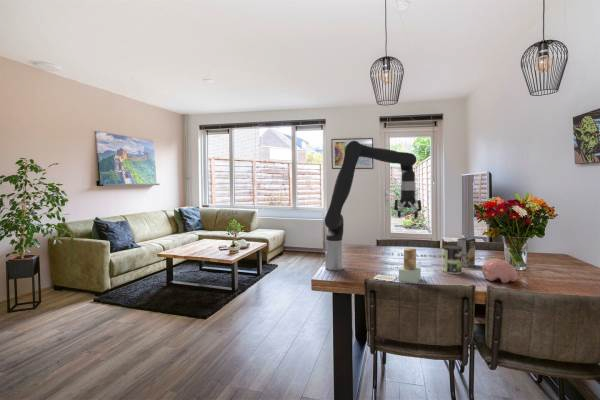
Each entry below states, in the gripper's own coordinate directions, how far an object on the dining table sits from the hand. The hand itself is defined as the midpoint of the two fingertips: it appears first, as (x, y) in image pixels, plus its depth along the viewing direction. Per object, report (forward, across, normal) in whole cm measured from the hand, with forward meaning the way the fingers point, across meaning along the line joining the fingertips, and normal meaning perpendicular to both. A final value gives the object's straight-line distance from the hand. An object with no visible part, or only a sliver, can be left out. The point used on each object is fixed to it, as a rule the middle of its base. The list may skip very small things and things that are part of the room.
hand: (407, 218), depth 182 cm
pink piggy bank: (+30, +45, +4) cm, 54 cm away
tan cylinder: (+24, +5, -16) cm, 29 cm away
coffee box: (+30, +28, +28) cm, 50 cm away
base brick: (+30, +5, -16) cm, 34 cm away
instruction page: (+30, -7, -20) cm, 37 cm away
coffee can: (+30, +22, +10) cm, 39 cm away
